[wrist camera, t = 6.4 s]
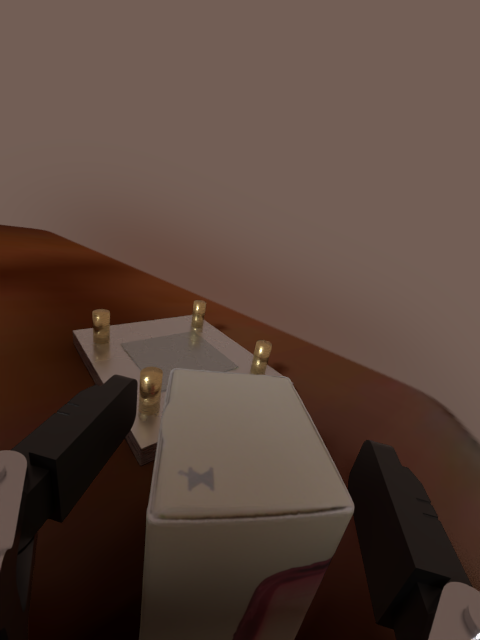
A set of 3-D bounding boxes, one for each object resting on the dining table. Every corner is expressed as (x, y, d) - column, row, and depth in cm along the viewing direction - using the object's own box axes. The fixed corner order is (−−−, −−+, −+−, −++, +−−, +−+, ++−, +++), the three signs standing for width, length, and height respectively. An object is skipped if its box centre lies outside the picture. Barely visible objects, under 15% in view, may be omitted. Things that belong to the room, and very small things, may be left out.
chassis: (73, 343, 24) (71, 302, 22) (195, 324, 31) (199, 293, 30) (140, 466, 14) (143, 408, 13) (289, 395, 22) (301, 355, 21)
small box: (279, 686, 8) (369, 515, 6) (129, 709, 8) (142, 522, 5) (250, 515, 13) (291, 372, 10) (155, 517, 12) (170, 362, 9)
